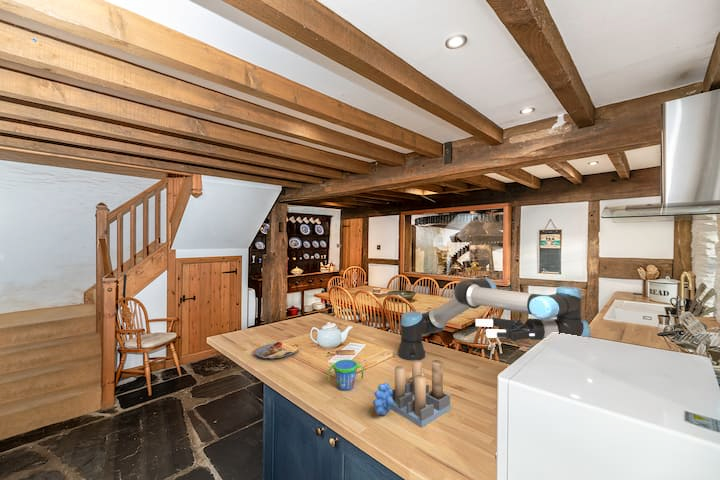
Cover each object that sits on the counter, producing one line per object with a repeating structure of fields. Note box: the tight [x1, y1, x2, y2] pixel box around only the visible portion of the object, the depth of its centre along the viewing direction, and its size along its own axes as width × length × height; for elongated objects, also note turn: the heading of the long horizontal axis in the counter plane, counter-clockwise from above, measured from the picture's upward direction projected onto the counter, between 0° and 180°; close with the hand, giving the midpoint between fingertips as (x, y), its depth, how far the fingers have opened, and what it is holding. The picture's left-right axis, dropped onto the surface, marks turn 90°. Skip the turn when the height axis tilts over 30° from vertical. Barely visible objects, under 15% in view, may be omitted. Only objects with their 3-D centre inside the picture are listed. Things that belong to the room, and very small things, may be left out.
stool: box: [390, 360, 452, 428], centre depth 116 cm, size 17×17×15 cm
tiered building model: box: [408, 371, 425, 382], centre depth 133 cm, size 10×9×6 cm
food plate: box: [253, 341, 299, 360], centre depth 173 cm, size 25×23×4 cm
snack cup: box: [327, 359, 364, 391], centre depth 133 cm, size 16×10×10 cm
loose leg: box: [431, 359, 444, 400], centre depth 115 cm, size 4×4×16 cm
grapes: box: [373, 382, 394, 417], centre depth 111 cm, size 12×7×12 cm, turn 145°
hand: (480, 327), depth 113 cm, fingers open, 13 cm apart
